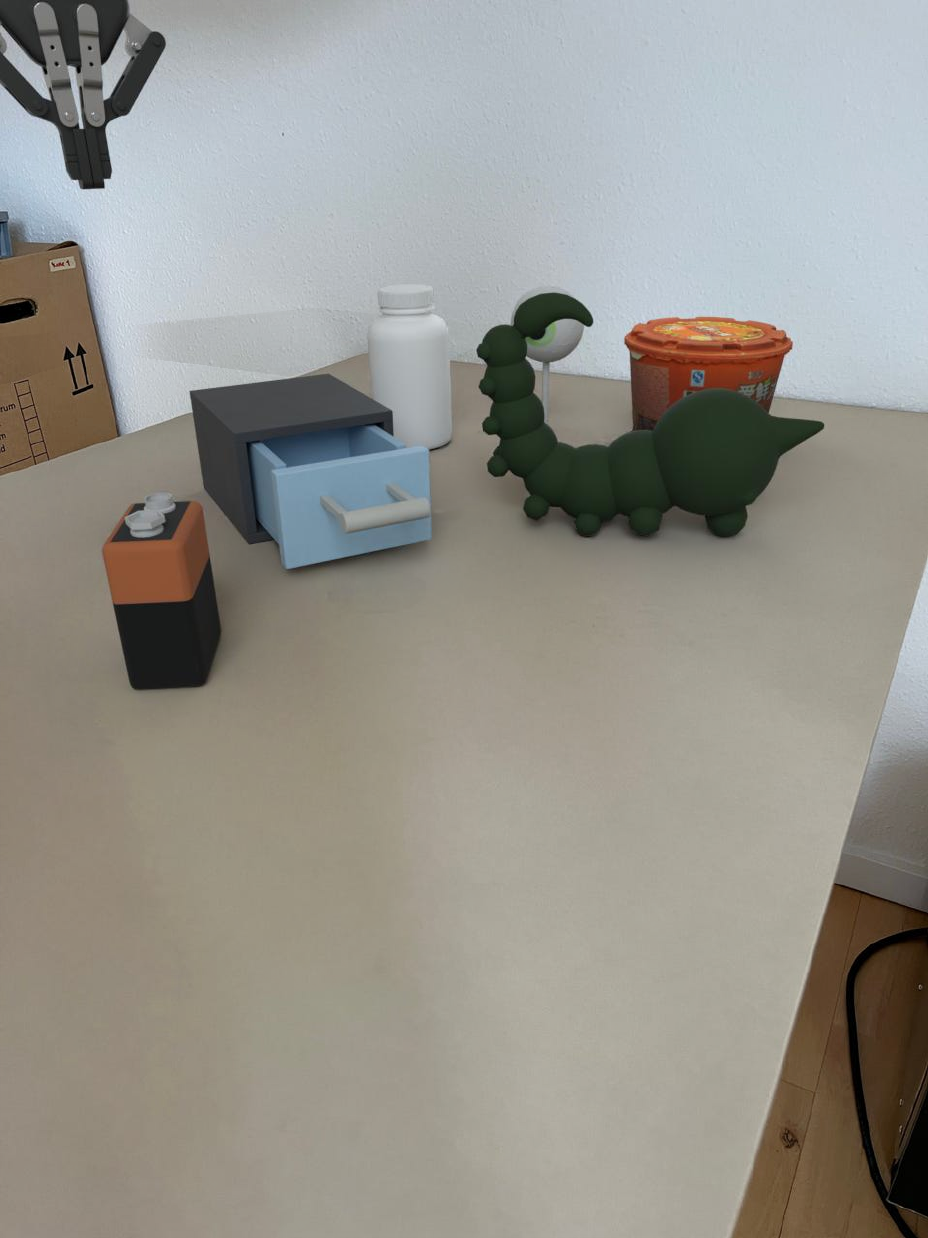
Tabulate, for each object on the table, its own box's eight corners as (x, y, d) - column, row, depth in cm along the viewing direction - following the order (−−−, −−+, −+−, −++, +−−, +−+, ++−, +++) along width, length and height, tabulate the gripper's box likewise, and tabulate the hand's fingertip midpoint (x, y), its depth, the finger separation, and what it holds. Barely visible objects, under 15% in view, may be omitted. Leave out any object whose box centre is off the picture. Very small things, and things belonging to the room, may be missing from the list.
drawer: (466, 566, 66) (465, 471, 63) (313, 601, 62) (303, 501, 58) (365, 486, 81) (360, 406, 78) (235, 509, 77) (224, 425, 74)
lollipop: (499, 445, 94) (500, 289, 87) (521, 427, 100) (523, 278, 93) (568, 452, 92) (575, 292, 85) (586, 433, 98) (594, 281, 91)
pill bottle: (363, 436, 98) (353, 285, 91) (435, 426, 101) (430, 279, 94) (388, 457, 91) (380, 296, 84) (464, 446, 94) (462, 290, 87)
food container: (811, 441, 94) (829, 331, 89) (700, 472, 86) (713, 353, 81) (693, 408, 106) (703, 309, 101) (585, 432, 98) (591, 326, 93)
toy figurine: (486, 559, 74) (824, 555, 68) (461, 309, 65) (845, 280, 59) (506, 516, 82) (809, 509, 76) (486, 288, 73) (826, 261, 68)
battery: (128, 693, 54) (94, 530, 49) (154, 636, 60) (125, 486, 55) (206, 689, 54) (179, 527, 49) (223, 633, 60) (201, 484, 55)
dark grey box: (397, 515, 78) (392, 410, 74) (248, 544, 73) (234, 433, 69) (336, 466, 89) (328, 373, 85) (203, 488, 84) (189, 390, 80)
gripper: (-85, -150, 52) (-8, 195, 60) (159, -127, 57) (200, 187, 65) (-85, -121, 58) (-14, 189, 66) (137, -102, 63) (177, 182, 71)
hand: (92, 187), depth 65 cm, fingers closed
